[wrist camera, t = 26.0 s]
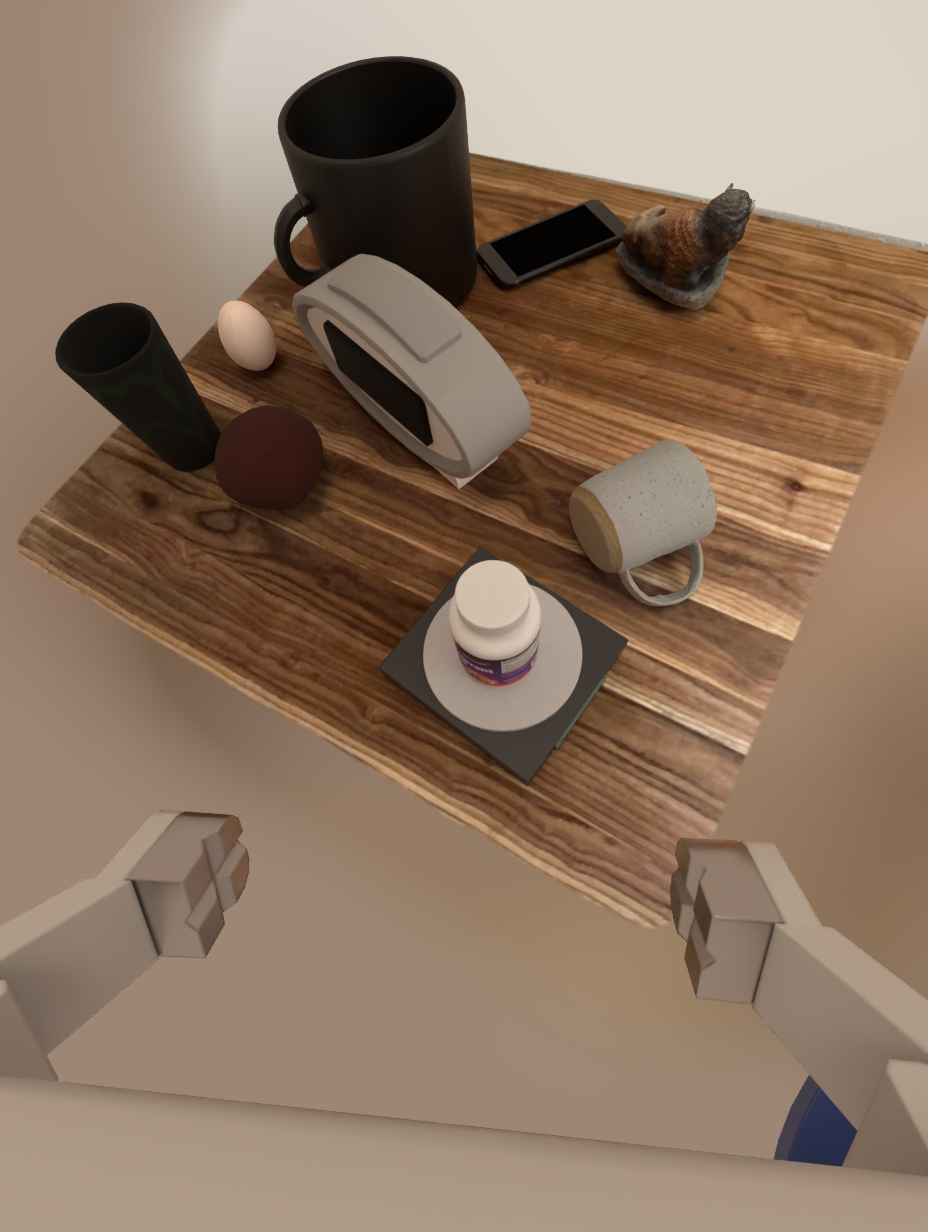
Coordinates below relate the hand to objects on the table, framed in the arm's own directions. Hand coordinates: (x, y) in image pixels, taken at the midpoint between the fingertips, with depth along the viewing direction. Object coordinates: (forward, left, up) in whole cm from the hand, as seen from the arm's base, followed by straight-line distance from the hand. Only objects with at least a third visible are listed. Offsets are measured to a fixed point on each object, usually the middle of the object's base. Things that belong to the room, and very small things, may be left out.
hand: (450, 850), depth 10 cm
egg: (+45, -21, -28) cm, 57 cm away
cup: (+43, -10, -28) cm, 52 cm away
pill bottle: (+7, -10, -25) cm, 28 cm away
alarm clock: (+27, -24, -28) cm, 46 cm away
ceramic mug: (+4, -24, -28) cm, 37 cm away
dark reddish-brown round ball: (+32, -12, -28) cm, 44 cm away
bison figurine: (+17, -51, -28) cm, 61 cm away
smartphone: (+30, -50, -27) cm, 65 cm away
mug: (+41, -36, -28) cm, 61 cm away
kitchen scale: (+7, -10, -27) cm, 30 cm away
